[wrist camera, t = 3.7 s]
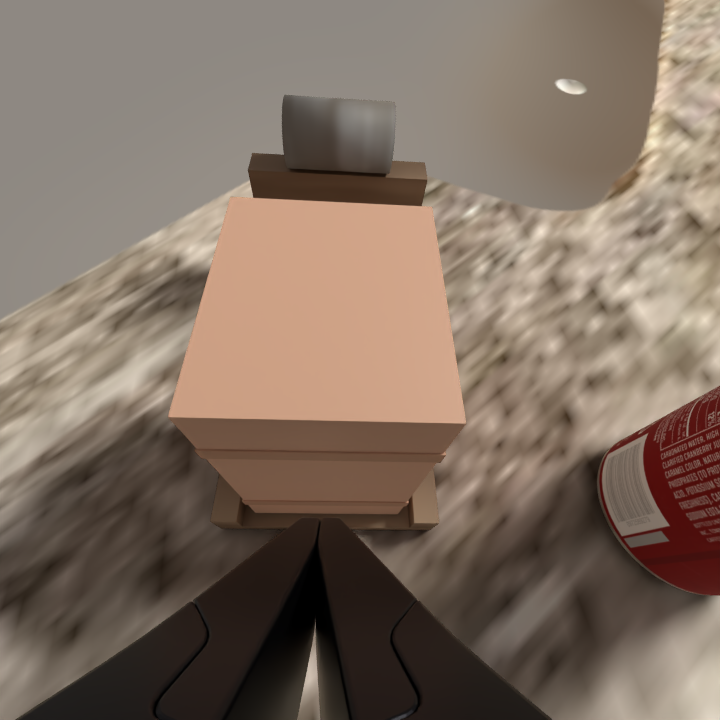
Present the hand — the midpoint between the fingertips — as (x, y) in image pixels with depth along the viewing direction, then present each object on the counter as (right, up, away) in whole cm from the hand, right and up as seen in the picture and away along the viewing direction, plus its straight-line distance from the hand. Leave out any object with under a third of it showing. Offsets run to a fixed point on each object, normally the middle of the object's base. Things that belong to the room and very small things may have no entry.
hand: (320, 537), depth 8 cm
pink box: (-1, 0, +10) cm, 10 cm away
